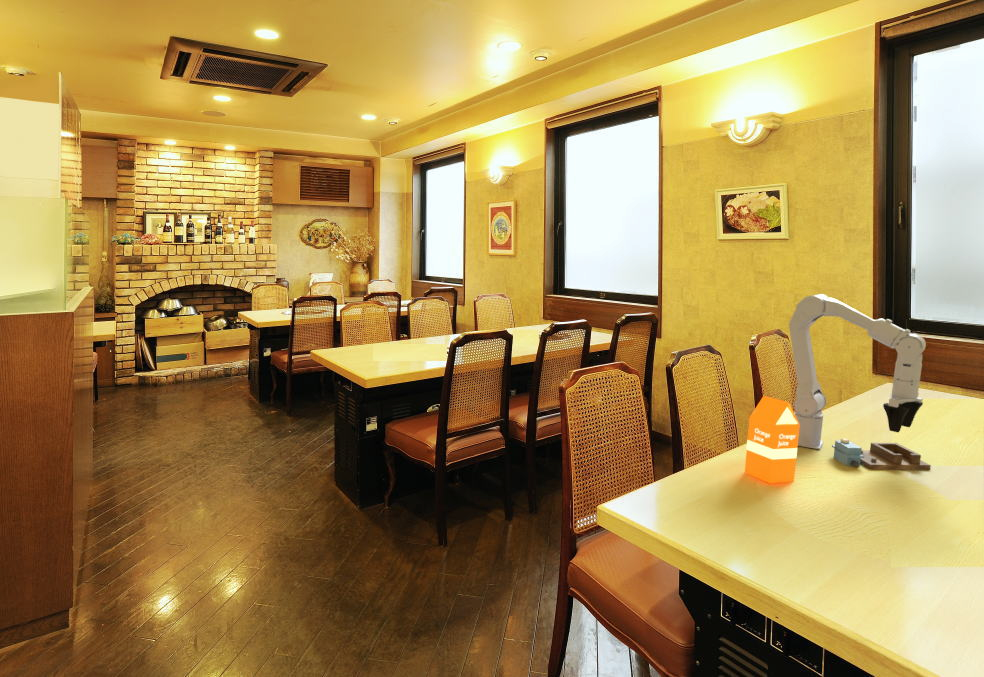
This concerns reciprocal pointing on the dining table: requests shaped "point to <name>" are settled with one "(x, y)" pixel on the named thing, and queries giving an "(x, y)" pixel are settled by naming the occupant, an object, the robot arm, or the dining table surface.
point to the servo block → (847, 452)
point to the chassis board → (891, 457)
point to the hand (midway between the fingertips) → (899, 428)
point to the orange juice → (772, 441)
